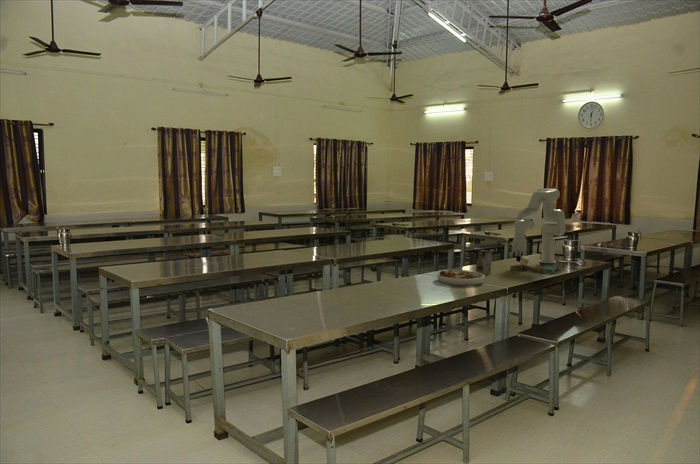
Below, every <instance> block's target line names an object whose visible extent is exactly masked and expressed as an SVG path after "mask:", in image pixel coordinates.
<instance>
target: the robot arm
mask: <svg viewBox="0 0 700 464" xmlns="http://www.w3.org/2000/svg"><path fill="white" fill-rule="evenodd" d="M560 195H561V193H560V190H559V189H557V188H539V189H537V190H536V191H533V193H532V195H531V198H529V199H530V200H529V202H528V204H527V206H525V208H524V209H522V210H520V212H518V214H517V216H516V218H515V220H514V224H513V225H514V238H513V240H512V243H511V252H510V253H511V254H514V255H515V261H516V262H517V263H519V262H520V260H521V257H522V256H524V255H527V252H528V251H527V250H528V247H527V246H528V243H527V239H526V238H528V235H526V231H531V230H533V229H534V228H535V222H534V221H533V220H532V219H526V217H528V216H531V215H534V214H536V213H538V212H539V209H540V207H541V205H542V210H543V211H542V213H543V220H544V221H546V222H544V223H542V225H541V237H542V240H541V255H540V256H541V259H538V261H539V262H540V263H543V264H557V261H556V260H555V249H556V248H555V247H556V239H555V237H554V236H557V237H558V236H560V237H561V236H564V235H565V231H566V214H565V212H564V211H563V210H561V209H556V206H555V201H557V200H559V198H560Z"/></svg>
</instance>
